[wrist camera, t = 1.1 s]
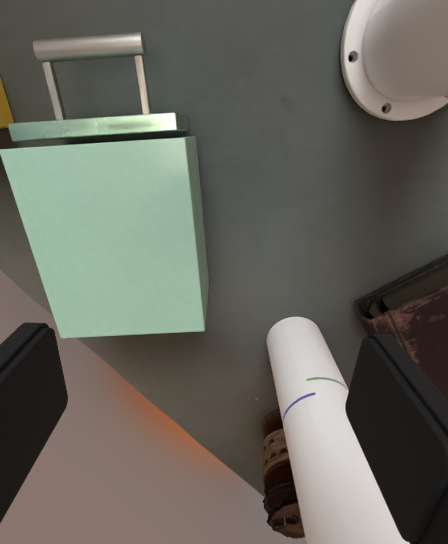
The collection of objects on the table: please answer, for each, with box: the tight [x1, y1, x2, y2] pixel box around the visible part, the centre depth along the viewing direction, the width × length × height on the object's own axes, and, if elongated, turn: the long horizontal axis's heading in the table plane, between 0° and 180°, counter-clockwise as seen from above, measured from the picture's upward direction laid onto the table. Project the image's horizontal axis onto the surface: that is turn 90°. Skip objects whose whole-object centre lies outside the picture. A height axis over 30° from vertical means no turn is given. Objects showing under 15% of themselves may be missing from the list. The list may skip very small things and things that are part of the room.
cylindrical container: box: [267, 317, 410, 544], centre depth 30 cm, size 7×7×25 cm
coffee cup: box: [262, 411, 305, 538], centre depth 41 cm, size 9×8×13 cm
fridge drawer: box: [7, 33, 188, 141], centre depth 28 cm, size 21×12×8 cm, turn 3°
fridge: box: [0, 136, 209, 338], centre depth 30 cm, size 17×14×10 cm
